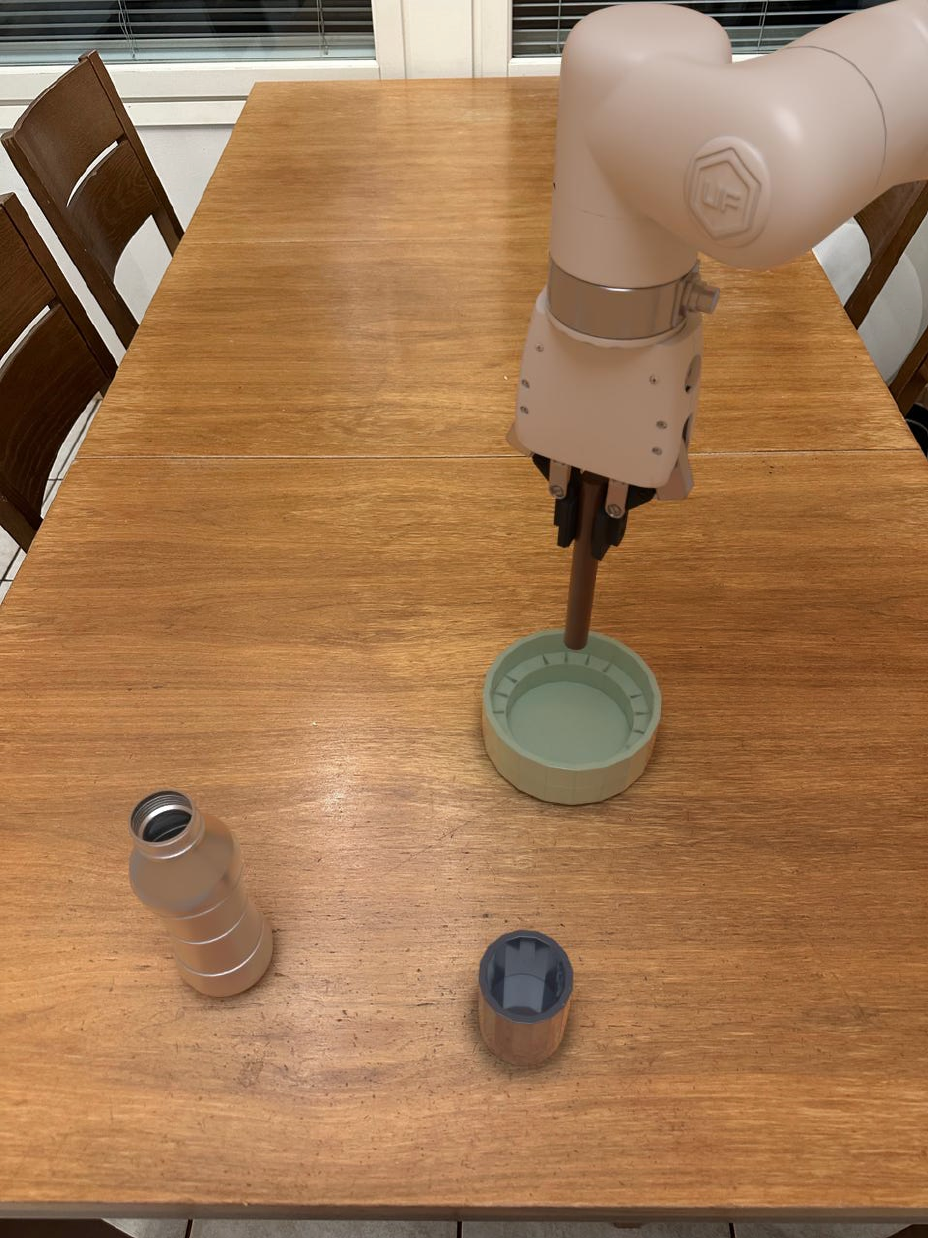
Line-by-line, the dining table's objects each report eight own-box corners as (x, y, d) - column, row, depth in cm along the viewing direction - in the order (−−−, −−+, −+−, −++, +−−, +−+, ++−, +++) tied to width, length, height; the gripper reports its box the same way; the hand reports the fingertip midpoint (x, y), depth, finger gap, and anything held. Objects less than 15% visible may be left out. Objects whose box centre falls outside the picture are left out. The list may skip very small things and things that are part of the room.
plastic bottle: (189, 921, 69) (109, 770, 54) (282, 914, 69) (228, 763, 55) (177, 1010, 65) (87, 873, 50) (276, 1003, 65) (216, 865, 50)
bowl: (676, 705, 82) (686, 665, 78) (613, 836, 73) (620, 798, 69) (528, 647, 86) (530, 606, 82) (453, 763, 78) (451, 724, 74)
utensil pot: (578, 1003, 65) (588, 956, 59) (542, 1083, 61) (548, 1041, 56) (503, 963, 67) (505, 914, 61) (464, 1039, 63) (462, 994, 57)
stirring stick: (591, 637, 71) (614, 472, 59) (581, 654, 70) (603, 488, 58) (569, 629, 72) (587, 463, 60) (559, 645, 71) (576, 479, 59)
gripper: (787, 288, 49) (719, 544, 63) (515, 223, 54) (507, 473, 68) (743, 360, 45) (680, 619, 59) (452, 282, 50) (457, 537, 64)
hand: (587, 539), depth 63 cm, fingers closed on stirring stick, 1 cm apart
